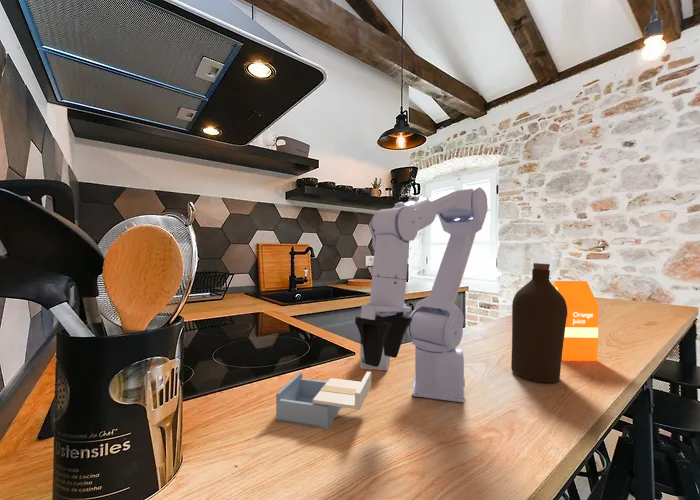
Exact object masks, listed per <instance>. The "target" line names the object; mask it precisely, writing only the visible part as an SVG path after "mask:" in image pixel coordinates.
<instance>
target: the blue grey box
mask: <svg viewBox="0 0 700 500" xmlns="http://www.w3.org/2000/svg"><path fill="white" fill-rule="evenodd" d="M327 382H328V380H318V379H311V378H303V372H301V371H300V372H298V373H296V374H295V376H294V377H292V378H291V379H290V380H289V381H288V382H286V384H285V385H284V386H283V387H282V388H281V389H279V390H278V391H277V392H276V396H275V399H276V400H275V401H276V402H275V403H276V404H275V405H276V407H275V408H276V409H275V411H276V413H275V416H276V417H275V418H276V419H275V420H276V422H281V423H285V424H286V423H287V424H292V425H298V426H302V427H303V426H304V427H309V428H310V427H311V428H316V429H322V430H327V431H328V430H329V428H330V427H331V424H332V423H333V422H334V420H335V418H336V417H337V415H338V413H339V412H340V410H341V408H342V407H338V406H331V405H324V404H317V403H313V399H314V398H315V396H316V395H317V394H318V393H319V391H320V390H321V388H322V387H323V386H324V385H325V384H326V383H327Z"/></svg>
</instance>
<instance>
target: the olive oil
mask: <svg viewBox="0 0 700 500" xmlns="http://www.w3.org/2000/svg"><path fill="white" fill-rule="evenodd" d="M532 266H533V268H532V270H531V272H532V273H531V279H530V281H528V282H527V283H526V284H525V285H523V286H522V287H521V288H520V289H519V290H517V292H516V293H515V295H514V296H513V299H512V303H511V304H512V305H511V307H512V308H511V316H512V318H511V364H510V365H511V366H510V367H511V368H510V369H511V370H512V372H513V373H515V374H517V376H520V377H522V378H525V379H529V380H533V381H535V382H540V383H541V382H542V383H556V382H558V381H560V378H561V370H562V369H561V367H562V361H563V360H562V351H563V343H564V335H565V327H566V320H567V314H568V312H567V305H566V301H565V299H564V297H563V296H562V295H561V294H560V292H559V291H558V290H557V289H556V288H555V287H554V286H553V283H552V282H551V281H550V276H551V275H550V274H551V270H550V266H551V265H550V264H549V263H537V262H536V263H535V262H533V265H532Z"/></svg>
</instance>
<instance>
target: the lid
mask: <svg viewBox="0 0 700 500" xmlns="http://www.w3.org/2000/svg"><path fill="white" fill-rule="evenodd" d="M327 381H328V382H327V383H326V384H325V385H324V386H323V387H322V388H321V390H320V391H319V393H318V394H317V395H316V396H315V398H314V399H313V403H317V404H324V405H331V406H338V407H341V408H343V409H344V408H346V409H351V410H352V409H353V410H358V411H359V410H361V408H362V406H363V404H364V401H365V400H366V398H367V396H368V394H369V392H370V389H371V387H372V371H366V372H365V374H364V376H363V378H362V379H361V381H358V380H357V381H356V380H351V379H349V380H348V379H342V378H333V377H330V378H329V379H328V380H327Z"/></svg>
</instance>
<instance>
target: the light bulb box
mask: <svg viewBox="0 0 700 500" xmlns="http://www.w3.org/2000/svg"><path fill="white" fill-rule="evenodd" d="M359 338H360V340H359V341H360V349H359V350H360V351H359V354H360V355H359V356H360V357H359V358H360V361H359V362H360V363H359V364H360V365H359V366H360V367H359V368H361V369H362V370H371V369H377V370H376V371H382V370H387V371H388V369H389V367H388V366H390V362H391V358H390V357H389V356H385V355H384V346H383V352H382V357H381V361H380V364H379V366H378V367H375V366H371V365H367V364H365V359H364V352H363V345H362V340H361V336H359ZM389 361H390V362H389ZM361 369H360V370H361ZM379 369H380V370H379Z"/></svg>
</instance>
